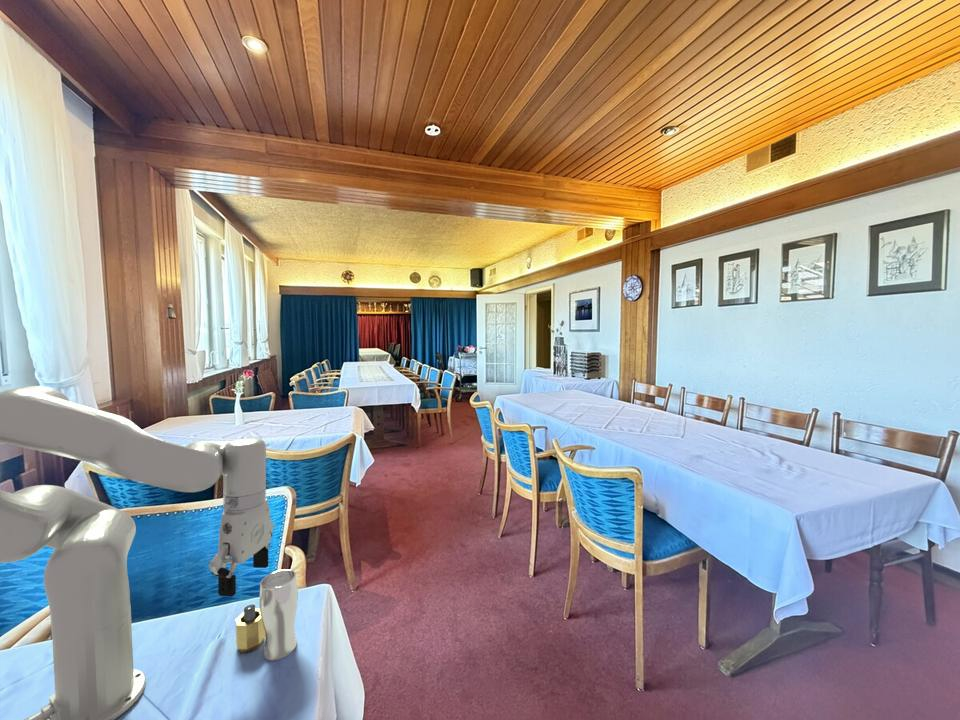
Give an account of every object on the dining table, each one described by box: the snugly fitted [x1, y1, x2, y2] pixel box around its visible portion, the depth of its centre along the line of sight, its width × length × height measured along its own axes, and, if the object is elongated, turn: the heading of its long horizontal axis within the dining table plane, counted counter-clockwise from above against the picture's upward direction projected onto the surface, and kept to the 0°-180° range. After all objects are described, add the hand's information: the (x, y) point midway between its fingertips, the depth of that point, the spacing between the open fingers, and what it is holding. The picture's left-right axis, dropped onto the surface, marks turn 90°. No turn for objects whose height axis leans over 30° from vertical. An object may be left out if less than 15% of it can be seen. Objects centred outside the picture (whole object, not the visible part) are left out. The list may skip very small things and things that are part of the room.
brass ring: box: [235, 607, 266, 650], centre depth 79 cm, size 5×5×5 cm
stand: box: [237, 604, 264, 654], centre depth 79 cm, size 5×5×8 cm
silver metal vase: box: [259, 568, 299, 662], centre depth 78 cm, size 7×7×15 cm
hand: (244, 580), depth 78 cm, fingers open, 9 cm apart
